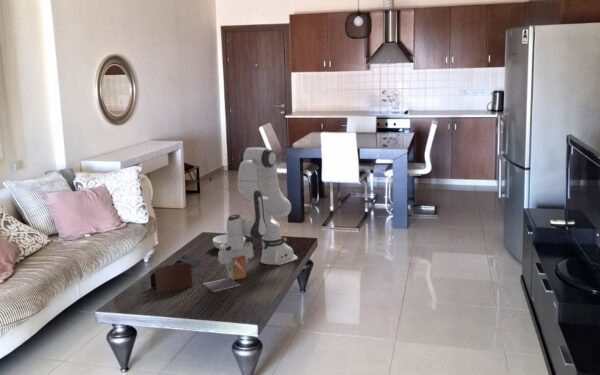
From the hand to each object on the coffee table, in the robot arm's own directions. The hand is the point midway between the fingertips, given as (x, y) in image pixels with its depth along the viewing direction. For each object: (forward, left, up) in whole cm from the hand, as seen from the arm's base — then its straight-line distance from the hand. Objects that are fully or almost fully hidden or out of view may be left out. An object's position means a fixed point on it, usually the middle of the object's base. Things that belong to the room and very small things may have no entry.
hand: (236, 268), depth 323 cm
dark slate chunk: (+17, -35, -6) cm, 39 cm away
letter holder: (+35, -7, -6) cm, 36 cm away
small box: (0, 0, -5) cm, 5 cm away
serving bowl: (-20, -51, -6) cm, 55 cm away
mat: (+12, +6, -5) cm, 14 cm away
